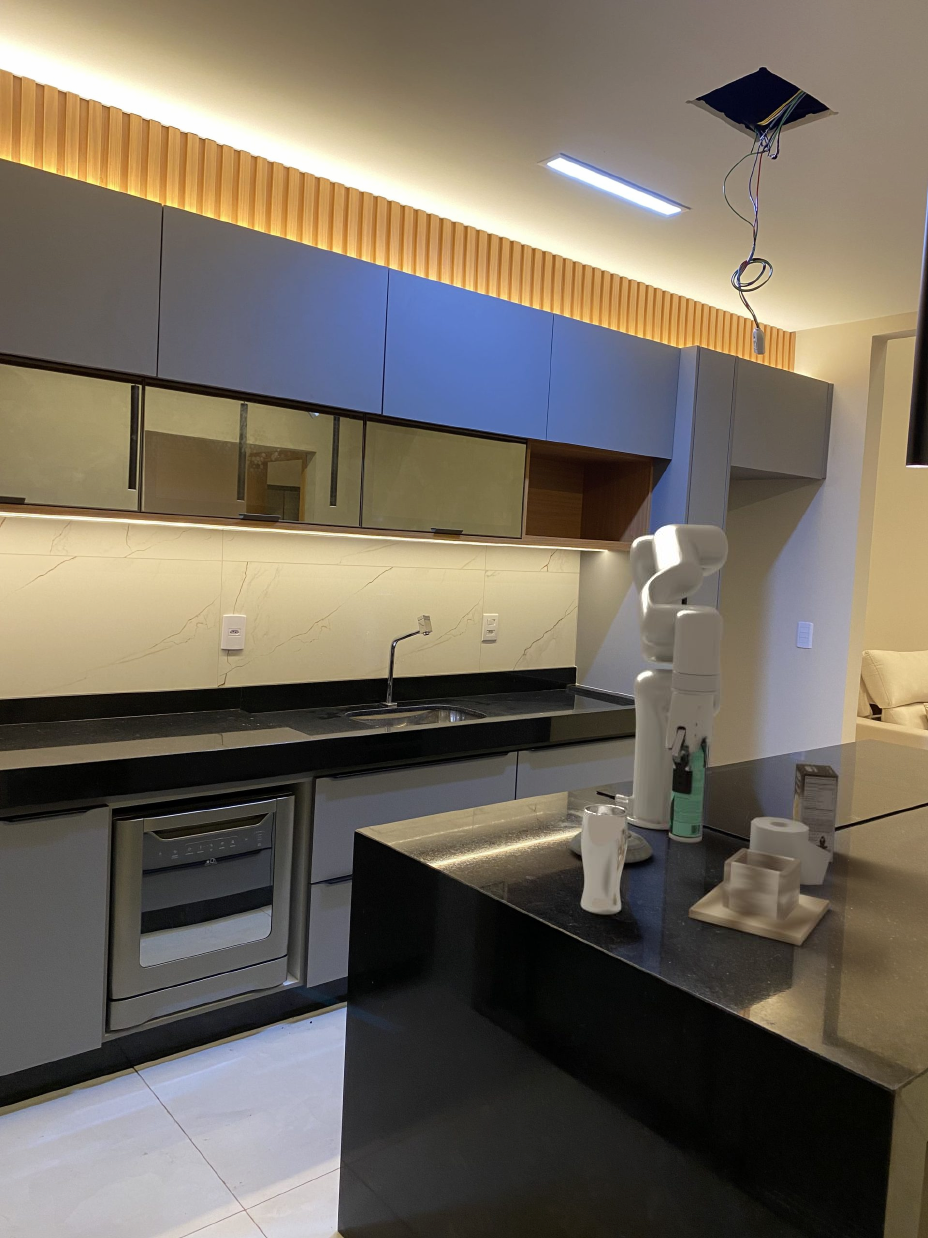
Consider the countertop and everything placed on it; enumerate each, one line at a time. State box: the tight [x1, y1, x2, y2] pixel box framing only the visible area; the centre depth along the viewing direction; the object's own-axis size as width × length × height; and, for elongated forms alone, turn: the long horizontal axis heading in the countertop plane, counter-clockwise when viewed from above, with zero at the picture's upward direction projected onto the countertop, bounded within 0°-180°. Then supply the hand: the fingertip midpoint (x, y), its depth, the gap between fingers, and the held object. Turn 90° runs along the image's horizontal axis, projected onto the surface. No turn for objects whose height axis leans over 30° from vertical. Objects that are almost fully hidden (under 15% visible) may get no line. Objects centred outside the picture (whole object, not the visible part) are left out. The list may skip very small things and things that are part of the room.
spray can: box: [668, 736, 709, 843], centre depth 152 cm, size 6×6×20 cm
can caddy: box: [688, 847, 830, 946], centre depth 137 cm, size 16×18×8 cm
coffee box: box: [792, 763, 840, 863], centre depth 168 cm, size 9×6×16 cm
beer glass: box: [580, 803, 629, 915], centre depth 136 cm, size 7×7×15 cm
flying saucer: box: [568, 829, 654, 864], centre depth 163 cm, size 15×15×6 cm
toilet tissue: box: [749, 816, 831, 886], centre depth 155 cm, size 9×13×9 cm
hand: (688, 788), depth 152 cm, fingers closed on spray can, 5 cm apart
